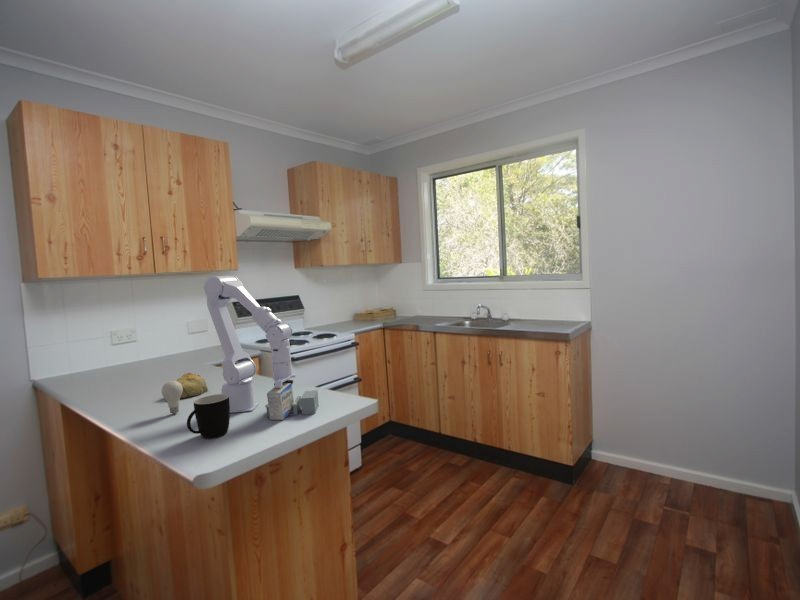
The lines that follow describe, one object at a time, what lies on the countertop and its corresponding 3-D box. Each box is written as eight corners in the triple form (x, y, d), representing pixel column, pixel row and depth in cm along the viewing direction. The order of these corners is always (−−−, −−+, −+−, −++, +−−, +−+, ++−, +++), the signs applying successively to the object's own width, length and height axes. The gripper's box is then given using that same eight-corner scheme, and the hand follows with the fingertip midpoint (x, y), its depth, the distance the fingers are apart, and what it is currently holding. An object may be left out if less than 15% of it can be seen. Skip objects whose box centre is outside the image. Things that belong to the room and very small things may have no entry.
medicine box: (283, 420, 125) (280, 393, 124) (269, 420, 126) (266, 392, 124) (294, 408, 133) (291, 382, 131) (281, 408, 134) (278, 382, 132)
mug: (218, 426, 124) (215, 392, 123) (239, 430, 119) (235, 395, 118) (179, 442, 113) (175, 405, 113) (200, 447, 109) (196, 409, 108)
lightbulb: (189, 411, 140) (186, 378, 139) (174, 417, 134) (170, 383, 133) (175, 410, 142) (171, 378, 141) (159, 416, 136) (156, 383, 135)
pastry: (209, 388, 170) (207, 368, 169) (206, 396, 158) (204, 375, 157) (170, 393, 165) (167, 373, 164) (164, 402, 153) (161, 380, 153)
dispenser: (266, 418, 128) (264, 402, 128) (273, 408, 137) (271, 393, 136) (314, 414, 129) (313, 398, 129) (318, 405, 138) (317, 390, 137)
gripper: (290, 365, 126) (294, 410, 127) (298, 356, 141) (302, 396, 142) (266, 367, 126) (270, 412, 127) (277, 357, 140) (280, 397, 141)
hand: (285, 403), depth 134 cm, fingers closed, pressing on medicine box
